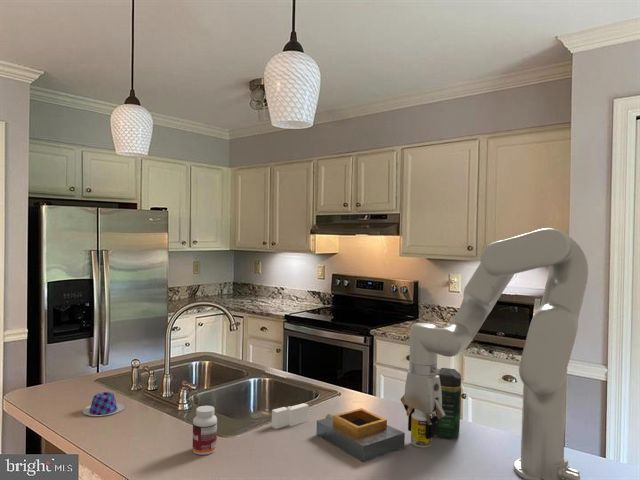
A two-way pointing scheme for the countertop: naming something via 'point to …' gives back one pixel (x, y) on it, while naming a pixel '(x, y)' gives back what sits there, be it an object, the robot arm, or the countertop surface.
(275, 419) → the white angular block
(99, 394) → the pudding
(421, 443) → the supplement bottle
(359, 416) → the grey bottle holder
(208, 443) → the pill bottle
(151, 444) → the countertop surface
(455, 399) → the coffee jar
